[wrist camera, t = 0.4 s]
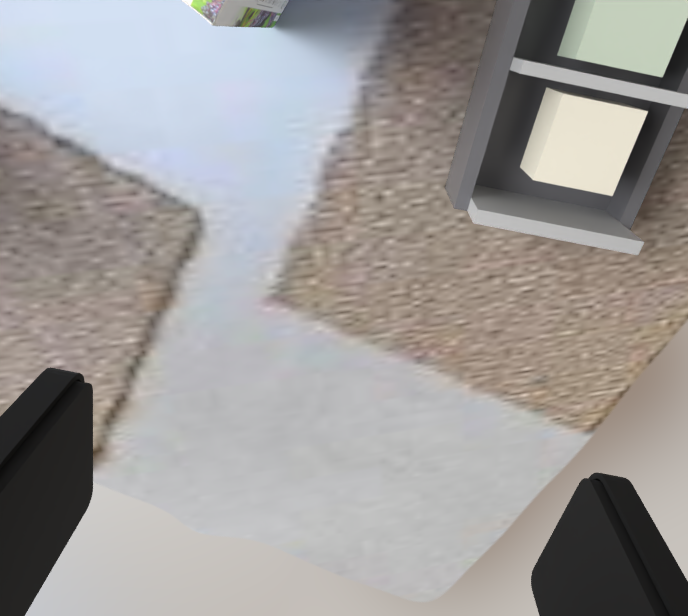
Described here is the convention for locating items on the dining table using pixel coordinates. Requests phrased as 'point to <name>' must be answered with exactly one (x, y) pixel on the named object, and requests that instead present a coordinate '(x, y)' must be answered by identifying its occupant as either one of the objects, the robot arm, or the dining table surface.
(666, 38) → the key sage
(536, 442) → the dining table surface
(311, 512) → the dining table surface
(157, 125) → the dining table surface
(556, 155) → the cream block
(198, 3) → the syrup box
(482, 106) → the slotted cube rack
